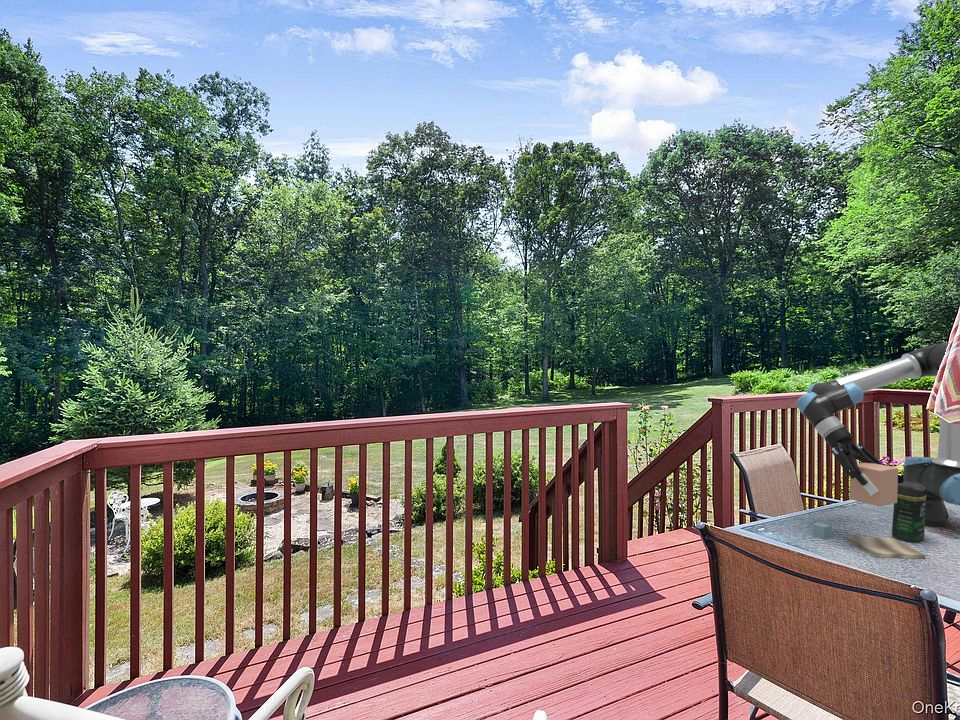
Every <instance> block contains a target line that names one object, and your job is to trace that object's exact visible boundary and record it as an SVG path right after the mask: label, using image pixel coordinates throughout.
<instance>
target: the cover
mask: <svg viewBox="0 0 960 720" xmlns="http://www.w3.org/2000/svg"><path fill="white" fill-rule="evenodd" d="M857 465H858V466H857V467H858V468H859V469H860V472H861V474H862V473H864V474H865V475H866V476H867V478H868V479H869V480H870V481H871V482H872V483H873V485H874V486H875V487H876V488H877V489H878V492H877V493H876V494H874V495H873V496H870V494H869V493H868V492H867V491H866V490H865V488H864V487H863V486H862V485H861V484H860V483H859V481H858V480H857V479H856V478H854V479H852V478H851V477H850V476H849V500H852V501H856V502H860V503H863V504H868V505H872V506H876V507H884V506H890V505H894V503H897V490H898V484H899V468H898V467H894V466H891V465H884V464H883V465H880V464H873V463H866V462H865V463H862V462H860V463H857Z"/></svg>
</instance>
